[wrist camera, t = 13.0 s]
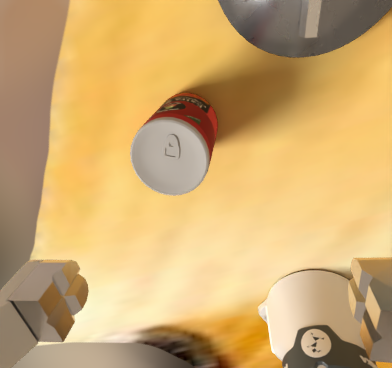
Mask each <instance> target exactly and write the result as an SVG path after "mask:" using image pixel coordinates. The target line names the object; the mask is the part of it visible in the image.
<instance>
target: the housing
mask: <svg viewBox="0 0 392 368" xmlns="http://www.w3.org/2000/svg"><path fill="white" fill-rule="evenodd" d="M218 1H219V3H220V5H221V7H222V10H223V12H224V14H225V15H226V17H227V18H228V20H229V21H230V23H231V24H232V26H233V27H234V28H235V29H236V30H237V31H238V33H239V34H240V35H242V36H243V37H244V38H245V39H246V40H247V41H248V42H250V43H251V44H253V45H254V46H256V47H257V48H260V49H262V50H264V51H266V52H268V53H272V54H275V55H278V56H285V57H310V56H316V55H320V54H324V53H328V52H330V51H333V50H335V49H338V48H340V47H342V46H344V45H346V44H348V43H350V42H351V41H353V40H355V39H356V38H358V37H359V36H361V35H362V34H363V33H365V32H366V31H367V30H369V29H370V28H371V27H372V26H373V25H375V24H376V23H377V22H378V21H379V20H380V19H381V18H382V17H383V16H384V15H385V14H386V13H387V12H388V11H389V10H390V8H391V7H392V0H322V2H321V9H320V17H319V24H318V32H317V37H312V38H304V37H301V36H298V35H299V26H300V16H301V7H302V0H247V1H246V2H243V0H218Z"/></svg>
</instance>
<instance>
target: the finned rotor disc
mask: <svg viewBox="0 0 392 368" xmlns="http://www.w3.org/2000/svg"><path fill="white" fill-rule="evenodd" d="M246 1H247V0H243V2H246ZM321 2H322V0H302V7H301V16H300V26H299V35H298V36H301V37H304V38H312V37H317V32H318V24H319V17H320V9H321Z"/></svg>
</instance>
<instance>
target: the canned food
mask: <svg viewBox="0 0 392 368" xmlns="http://www.w3.org/2000/svg"><path fill="white" fill-rule="evenodd" d="M217 127H218V123H217V117H216V114H215V112H214V110H213V108H212V106H211V105H210V104H209V103H208V102H207V101H206V100H205V99H203V98H202V97H200V96H198V95H195V94H191V93H181V94H177V95H174V96H172V97H171V98H169V99H168V100H167V101H166V102H165V103H164V104H163V105H162V106H161V107H160V108H159V109H158V110H157V111H156V112H155V113H154V114H153V115H152V116H151V117H150V118H149V119H148V121H147V122H146V123H145V124H144V125H143V126H142V127H141V128H140V129H139V130H138V132H137V134H136V136H135V137H134V139H133V142H132V145H131V152H130V155H131V162H132V166H133V169H134V171H135V172H136V174H137V176H138V177H139V179H140V180H141V181H142V182H143V183H144V184H145V185H146V186H148V187H149V188H151V189H152V190H154V191H156V192H158V193H161V194H165V195H173V196H174V195H182V194H185V193H188V192H190V191H192V190H194V189H195V188H196V187H198V186H199V185H200V183H201V182H202V181H203V179H204V177H205V175H206V173H207V171H208V168H209V164H210V161H211V156H212V152H213V147H214V143H215V139H216V134H217Z"/></svg>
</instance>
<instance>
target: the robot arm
mask: <svg viewBox="0 0 392 368" xmlns="http://www.w3.org/2000/svg"><path fill="white" fill-rule="evenodd" d="M350 269H351V272H352V274H353V278H352V279H351V280H348V279H346V278H344V277H342V276H340V275H338V274H335V273H332V272H327V271H320V270H309V271H301V272H297V273H293V274H290V275H288V276H286V277H284V278H282V279H281V280H279V281H278V282H277V283H276V284H275V285H274V286H273V287H272V288H271V290H270V292H269V295H268V297H267V299H266V300H265V301H264V302H263V303H261V304H260V305H259V307H258V312H259V315H260V316H261V317H262V318H263V319H264V320H265V321H266V322H267V323H268V329H269V336H270V343H271V349H272V352H273V353H274V354H275V355H276V356H277V357H278V358H279V359H280V360H282V366H283V368H378V367H377V365H376V362H375V361H379V362H390V363H392V257H391V258H353V260H352V262H351V268H350ZM79 271H80V267H79V266H78V264H77V262H76V261H72V260H30V261H28V262H26V263H25V264H24V265H23V266H22V267H21V268H20V270H19V271H18V272H17V273H16V274H15V275H14V276H13V277H12V278H11V279H10V280H9V282H8V283H7V284H6V285H5V286H4V287H3V288H2V289H1V290H0V368H11V367H13V366H14V365H15V364H16V363H17V362H18V361H19V360H20V359H21V358H22V357H24V356H25V355H26V354H27V353H28V352H29V351H30V350H31V349H32V348H34V347H35V346H36V345H37V344H38V342H64V340H65V338H66V336H67V335H68V333H69V331H70V329H71V328H72V326H73V324H74V322H75V319H74V315H75V314H76V313H78V312H79V311H80V310H82V308H83V306H84V305H85V303H86V301H87V296H88V284H87V282H86V280H85V279H84V278H83V277H82V276H81V275H79Z"/></svg>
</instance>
